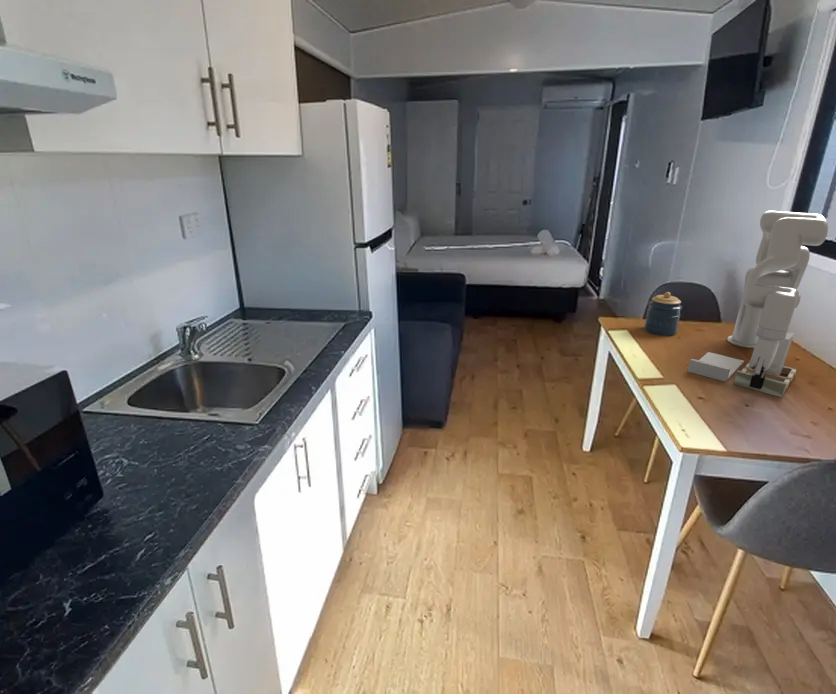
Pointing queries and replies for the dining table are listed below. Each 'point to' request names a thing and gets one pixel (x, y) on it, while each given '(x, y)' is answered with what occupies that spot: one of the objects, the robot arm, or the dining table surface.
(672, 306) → the canister
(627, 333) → the dining table surface
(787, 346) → the skincare box
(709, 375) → the grey sloped stand
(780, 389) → the divided wooden tray
